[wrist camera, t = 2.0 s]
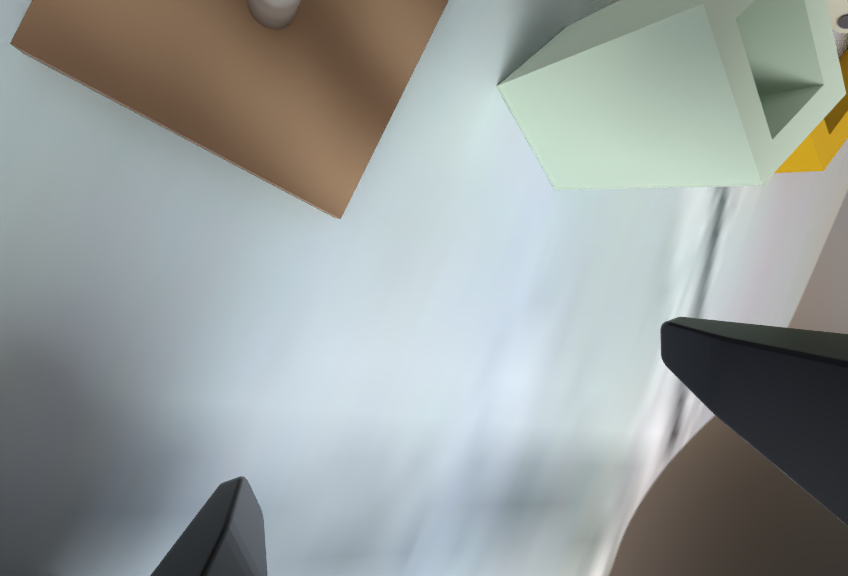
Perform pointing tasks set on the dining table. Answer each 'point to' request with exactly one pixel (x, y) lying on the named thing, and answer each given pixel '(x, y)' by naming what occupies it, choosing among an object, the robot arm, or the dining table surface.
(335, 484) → the dining table surface
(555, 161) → the sleeve
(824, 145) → the mechanical clamp
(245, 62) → the peg stand
